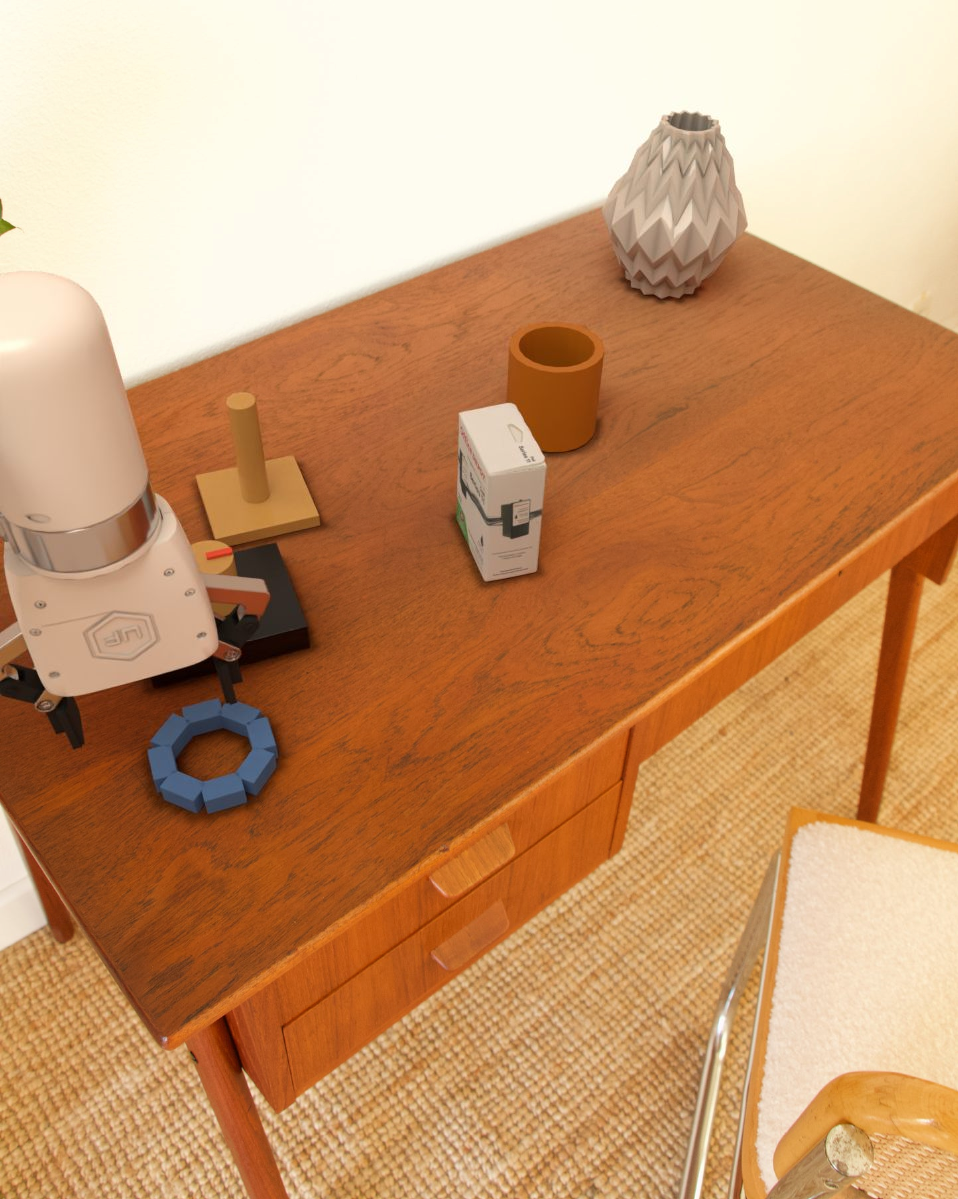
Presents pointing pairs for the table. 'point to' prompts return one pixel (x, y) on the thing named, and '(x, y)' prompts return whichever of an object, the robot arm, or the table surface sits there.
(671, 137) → the vase
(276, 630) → the black dial base plate
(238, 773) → the segmented ring
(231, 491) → the wooden peg stand
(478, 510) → the ink box
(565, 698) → the table surface
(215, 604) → the rotary dial knob
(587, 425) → the mug
